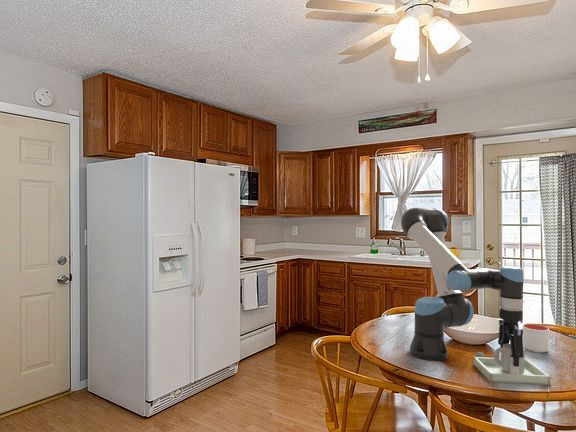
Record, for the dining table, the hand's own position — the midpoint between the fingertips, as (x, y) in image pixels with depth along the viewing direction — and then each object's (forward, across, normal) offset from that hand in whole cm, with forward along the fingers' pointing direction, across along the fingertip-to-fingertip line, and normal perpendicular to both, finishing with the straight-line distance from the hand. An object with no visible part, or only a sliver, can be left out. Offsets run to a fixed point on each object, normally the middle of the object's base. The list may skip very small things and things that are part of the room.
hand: (509, 369), depth 146 cm
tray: (+2, 0, 0) cm, 2 cm away
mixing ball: (0, +12, +6) cm, 13 cm away
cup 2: (+2, +30, -24) cm, 38 cm away
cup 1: (0, 0, 0) cm, 1 cm away
